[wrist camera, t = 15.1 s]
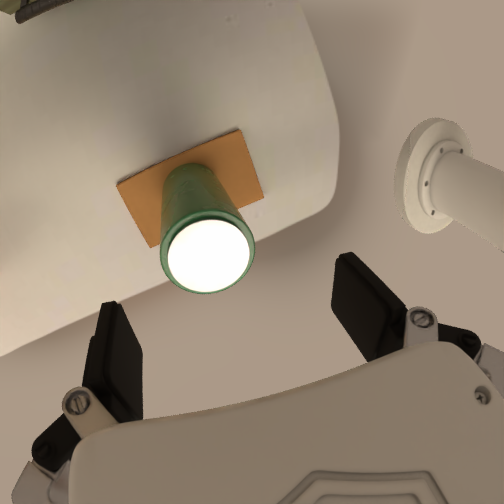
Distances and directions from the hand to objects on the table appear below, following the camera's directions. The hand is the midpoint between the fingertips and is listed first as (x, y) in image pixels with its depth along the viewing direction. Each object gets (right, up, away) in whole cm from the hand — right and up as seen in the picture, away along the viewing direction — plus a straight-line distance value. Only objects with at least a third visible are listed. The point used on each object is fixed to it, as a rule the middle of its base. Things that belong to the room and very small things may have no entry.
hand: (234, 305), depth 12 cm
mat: (-5, +8, +14) cm, 17 cm away
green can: (-5, +8, +13) cm, 16 cm away
